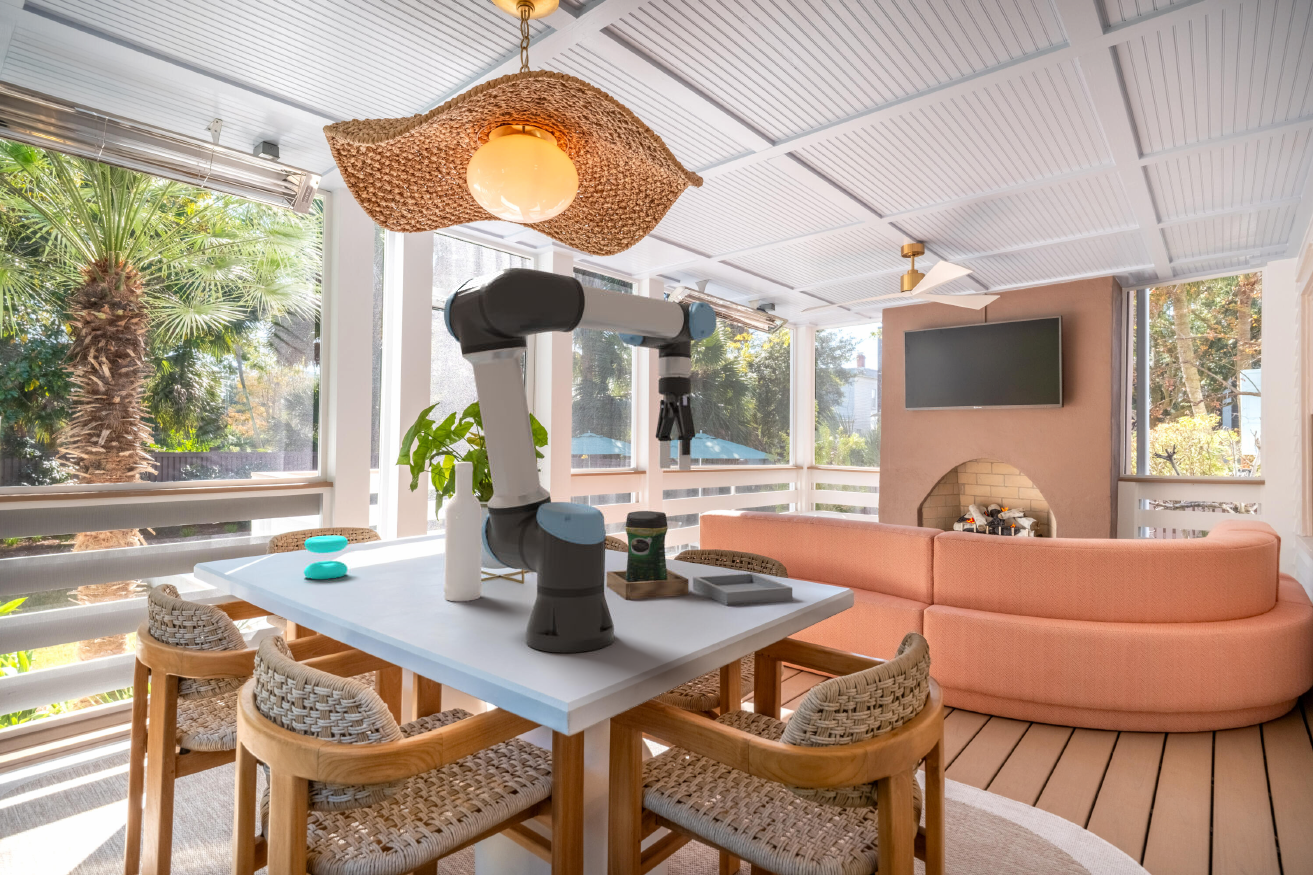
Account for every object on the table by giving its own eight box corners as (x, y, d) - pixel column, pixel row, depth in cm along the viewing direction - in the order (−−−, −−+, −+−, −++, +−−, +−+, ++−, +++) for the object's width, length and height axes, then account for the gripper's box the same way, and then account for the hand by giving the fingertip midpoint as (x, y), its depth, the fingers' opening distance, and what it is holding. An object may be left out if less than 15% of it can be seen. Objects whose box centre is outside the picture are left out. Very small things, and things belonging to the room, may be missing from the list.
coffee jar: (671, 588, 160) (672, 510, 160) (659, 595, 152) (659, 513, 152) (634, 585, 163) (635, 508, 164) (620, 591, 156) (621, 511, 156)
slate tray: (726, 605, 143) (726, 592, 143) (693, 588, 160) (693, 576, 160) (792, 600, 148) (792, 587, 148) (752, 584, 165) (753, 572, 165)
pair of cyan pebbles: (302, 536, 174) (345, 533, 179) (302, 575, 174) (344, 571, 179) (306, 541, 165) (350, 538, 171) (305, 581, 165) (350, 577, 171)
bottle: (474, 592, 155) (476, 461, 155) (486, 598, 148) (487, 462, 148) (439, 596, 150) (440, 461, 151) (449, 603, 144) (451, 462, 144)
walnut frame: (625, 599, 148) (625, 583, 148) (606, 586, 162) (606, 571, 162) (688, 594, 153) (688, 579, 153) (664, 582, 167) (664, 567, 167)
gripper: (710, 372, 145) (709, 470, 145) (672, 382, 169) (671, 467, 169) (677, 371, 143) (677, 471, 143) (643, 381, 167) (642, 467, 166)
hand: (674, 469), depth 156 cm, fingers open, 13 cm apart
